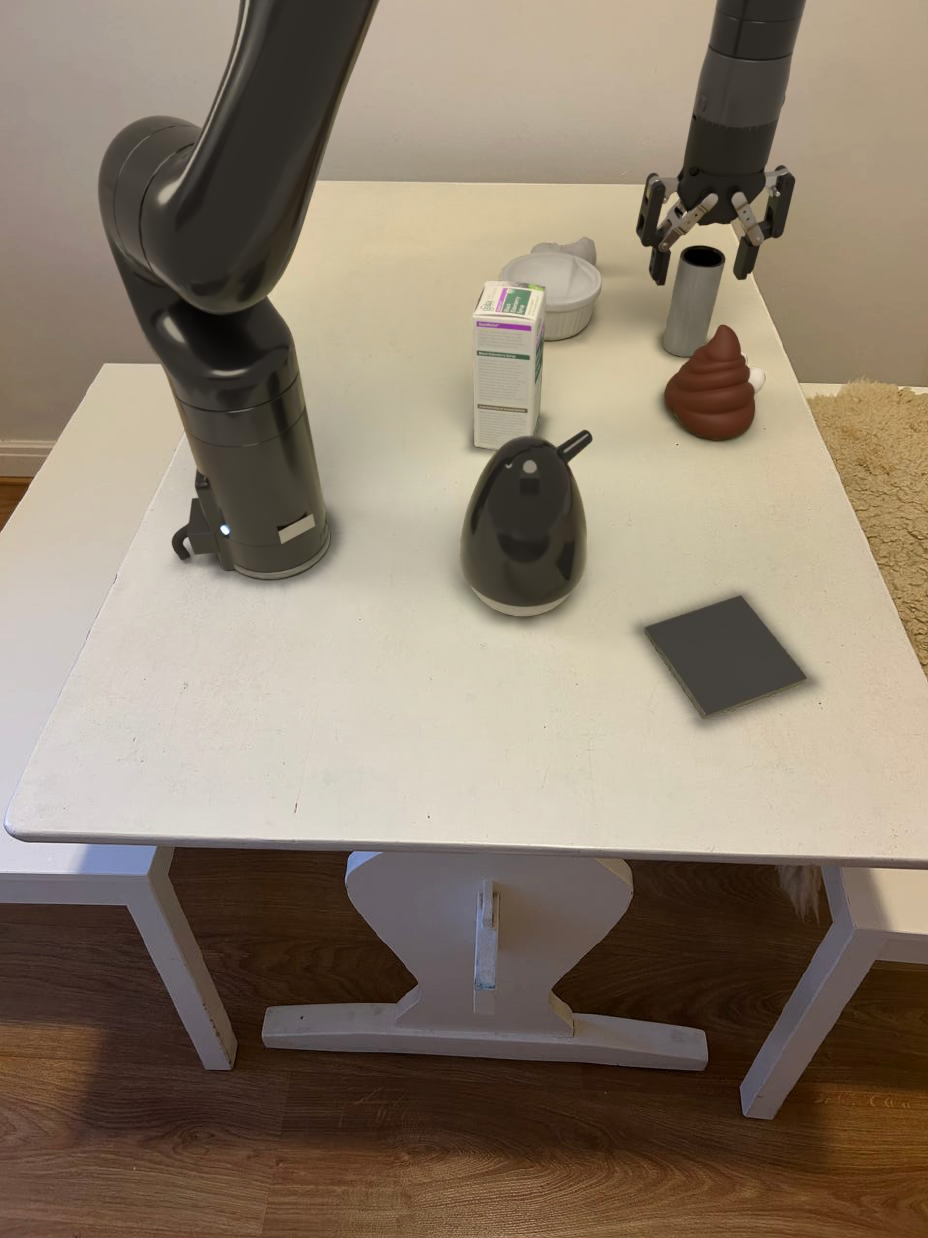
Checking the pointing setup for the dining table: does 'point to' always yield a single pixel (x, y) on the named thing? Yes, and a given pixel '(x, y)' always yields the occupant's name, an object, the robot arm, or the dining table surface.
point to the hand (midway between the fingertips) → (698, 279)
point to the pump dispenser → (526, 527)
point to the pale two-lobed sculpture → (571, 249)
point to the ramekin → (559, 289)
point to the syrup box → (507, 361)
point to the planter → (693, 299)
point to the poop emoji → (715, 389)
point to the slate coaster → (724, 656)
